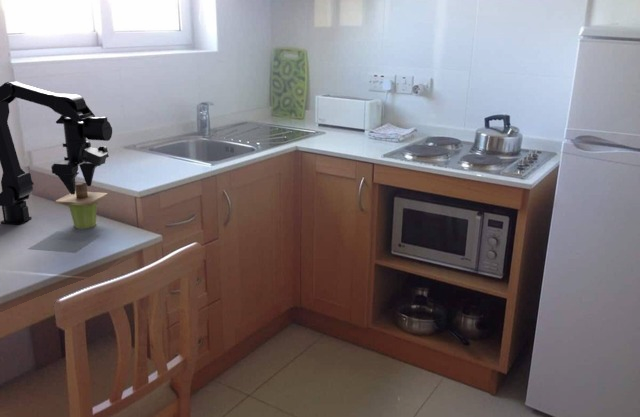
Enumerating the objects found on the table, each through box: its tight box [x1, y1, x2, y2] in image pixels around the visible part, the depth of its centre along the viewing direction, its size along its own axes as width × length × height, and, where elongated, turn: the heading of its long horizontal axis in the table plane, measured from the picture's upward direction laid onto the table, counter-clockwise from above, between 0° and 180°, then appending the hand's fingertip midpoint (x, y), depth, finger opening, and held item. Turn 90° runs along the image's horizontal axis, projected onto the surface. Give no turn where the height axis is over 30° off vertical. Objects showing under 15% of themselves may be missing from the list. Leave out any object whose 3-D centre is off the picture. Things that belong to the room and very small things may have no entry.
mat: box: [27, 231, 102, 254], centre depth 164 cm, size 14×14×1 cm
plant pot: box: [67, 201, 99, 230], centre depth 176 cm, size 9×9×9 cm
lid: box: [54, 182, 109, 206], centre depth 174 cm, size 11×11×5 cm
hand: (81, 190), depth 174 cm, fingers open, 9 cm apart
